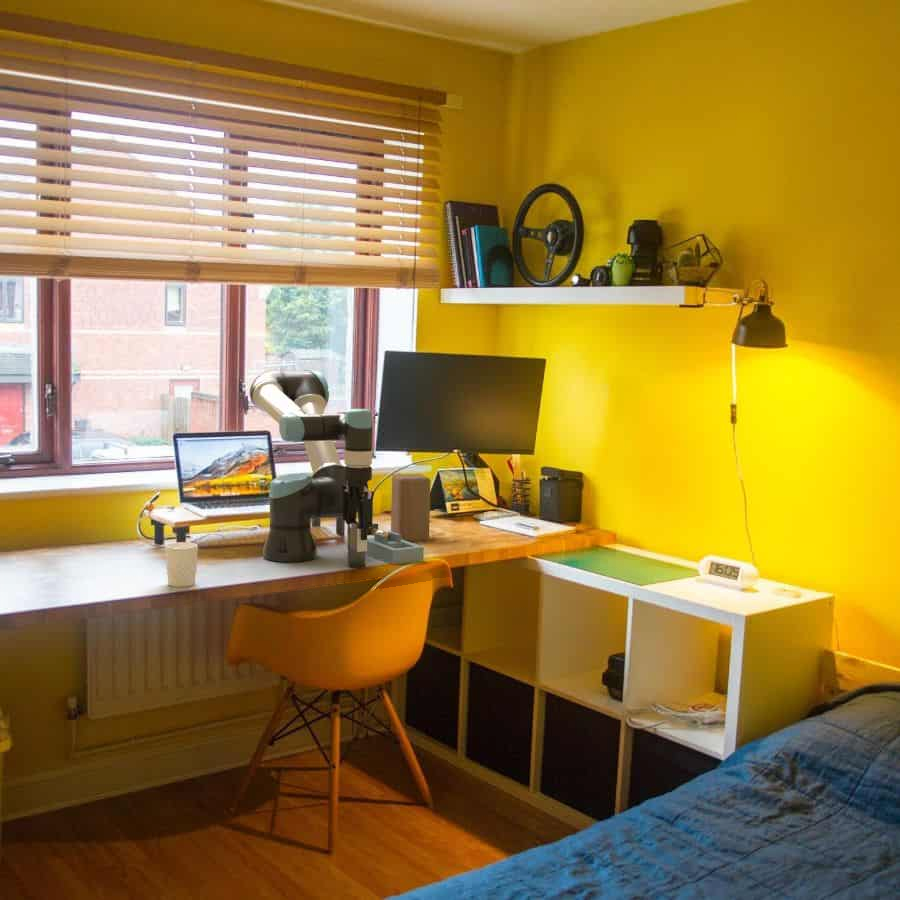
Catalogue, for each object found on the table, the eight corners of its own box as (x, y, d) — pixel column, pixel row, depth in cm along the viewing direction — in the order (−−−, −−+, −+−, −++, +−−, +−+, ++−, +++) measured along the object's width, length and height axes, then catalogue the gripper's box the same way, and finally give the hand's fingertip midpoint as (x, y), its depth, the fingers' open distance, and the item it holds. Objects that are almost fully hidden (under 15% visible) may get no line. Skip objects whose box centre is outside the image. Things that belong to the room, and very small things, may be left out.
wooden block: (389, 536, 345) (391, 473, 342) (420, 535, 348) (421, 473, 346) (398, 543, 335) (400, 478, 333) (430, 541, 339) (431, 477, 336)
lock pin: (381, 541, 317) (381, 529, 317) (365, 535, 324) (365, 524, 324) (392, 540, 319) (392, 528, 319) (376, 534, 326) (376, 523, 326)
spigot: (353, 568, 299) (353, 525, 298) (344, 565, 303) (344, 522, 302) (369, 566, 302) (369, 524, 301) (360, 563, 306) (360, 521, 305)
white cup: (192, 579, 283) (192, 541, 282) (201, 586, 276) (201, 547, 275) (162, 582, 279) (162, 543, 278) (170, 589, 272) (169, 549, 271)
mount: (393, 564, 306) (393, 542, 305) (361, 552, 321) (361, 531, 320) (423, 560, 311) (423, 539, 311) (390, 549, 326) (391, 528, 325)
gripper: (387, 469, 294) (385, 554, 297) (354, 461, 309) (352, 542, 312) (362, 470, 290) (361, 557, 293) (330, 462, 305) (329, 544, 307)
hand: (356, 549), depth 302 cm, fingers closed on spigot, 5 cm apart
